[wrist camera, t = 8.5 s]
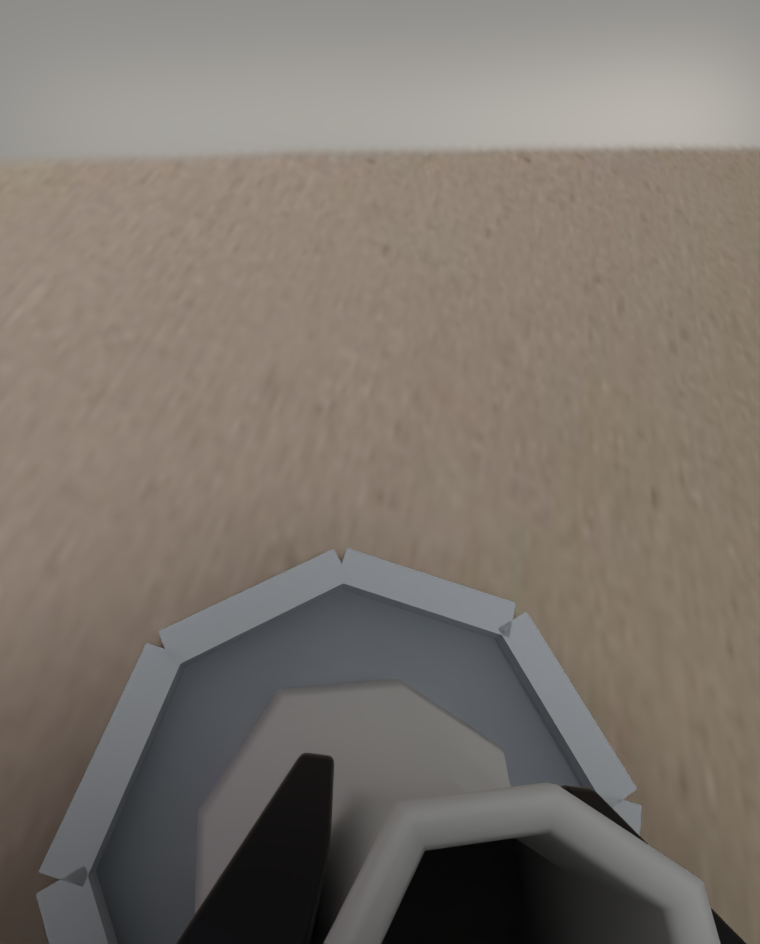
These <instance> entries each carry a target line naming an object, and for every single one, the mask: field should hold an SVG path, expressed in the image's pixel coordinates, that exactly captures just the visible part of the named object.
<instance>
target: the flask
mask: <svg viewBox="0 0 760 944" xmlns="http://www.w3.org/2000/svg"><path fill="white" fill-rule="evenodd" d="M303 753H314V754H322V755H329V756H331V757H332V758H333V759H334V784H333V806H332V829H331V842H330V851H329V857H328V862H327V868H326V873H325V878H324V883H323V888H322V893H321V898H320V904H319V909H318V914H317V919H316V924H315V929H314V934H313V940H312V944H720V940H719V936H718V933H717V929H716V926H715V922H714V918H713V915H712V911H711V908H710V904H709V900H708V897H707V893H706V890H705V886H704V883H703V880H701V879H700V878H698V877H696V876H695V875H693V874H692V873H690V872H689V871H687V870H686V869H684V868H683V867H681V866H680V865H678V864H677V863H675V862H674V861H672V860H671V859H669V858H668V857H666V856H665V855H663V854H662V853H660V852H659V851H657V850H656V849H654V848H653V847H651V846H649V845H648V844H646V843H645V842H643V841H642V840H640V839H639V838H637V837H636V836H634V835H633V834H631V833H630V832H628V831H627V830H625V829H624V828H622V827H621V826H619V825H618V824H616V823H615V822H613V821H612V820H610V819H609V818H607V817H606V816H604V815H602V814H601V813H599V812H598V811H596V810H595V809H593V808H592V807H590V806H589V805H587V804H586V803H584V802H583V801H581V800H580V799H578V798H577V797H575V796H574V795H572V794H571V793H569V792H568V791H566V790H565V789H563V788H562V787H560V786H559V785H556V784H552V783H547V782H545V783H537V784H529V785H521V786H513V787H511V785H510V783H509V777H508V772H507V766H506V761H505V755H504V752H503V749H502V747H501V746H500V745H498V744H497V743H495V742H494V741H492V740H491V739H489V738H487V737H486V736H484V735H483V734H481V733H480V732H478V731H477V730H475V729H474V728H472V727H471V726H469V725H468V724H466V723H465V722H463V721H462V720H460V719H459V718H457V717H456V716H454V715H453V714H451V713H450V712H448V711H447V710H445V709H443V708H442V707H440V706H439V705H437V704H436V703H434V702H433V701H431V700H430V699H428V698H427V697H425V696H424V695H422V694H421V693H419V692H418V691H416V690H415V689H413V688H412V687H410V686H409V685H407V684H406V683H404V682H403V681H401V680H399V679H389V680H378V681H366V682H355V683H343V684H332V685H321V686H309V687H298V688H287V689H278V690H277V691H276V693H275V694H274V696H273V697H272V699H271V700H270V702H269V703H268V705H267V706H266V708H265V709H264V711H263V713H262V714H261V716H260V717H259V719H258V720H257V722H256V723H255V725H254V726H253V728H252V729H251V731H250V732H249V734H248V735H247V737H246V738H245V740H244V742H243V743H242V745H241V746H240V748H239V749H238V751H237V752H236V754H235V755H234V757H233V758H232V760H231V761H230V763H229V764H228V766H227V767H226V769H225V770H224V772H223V774H222V775H221V777H220V778H219V780H218V781H217V783H216V784H215V786H214V787H213V789H212V790H211V792H210V793H209V795H208V796H207V798H206V799H205V801H204V802H203V804H202V806H201V807H200V809H199V810H198V819H197V852H196V885H195V913H196V912H197V910H198V909H199V907H200V906H201V904H202V903H203V901H204V900H205V898H206V897H207V895H208V894H209V892H210V891H211V889H212V888H213V886H214V885H215V883H216V881H217V880H218V878H219V877H220V875H221V874H222V872H223V871H224V869H225V868H226V866H227V865H228V863H229V862H230V860H231V859H232V857H233V856H234V854H235V853H236V851H237V850H238V848H239V847H240V845H241V844H242V842H243V841H244V839H245V837H246V836H247V834H248V833H249V831H250V830H251V828H252V827H253V825H254V824H255V822H256V821H257V819H258V818H259V816H260V815H261V813H262V812H263V810H264V809H265V807H266V806H267V804H268V803H269V801H270V800H271V798H272V796H273V795H274V793H275V792H276V790H277V789H278V787H279V786H280V784H281V783H282V781H283V780H284V778H285V777H286V775H287V774H288V772H289V771H290V769H291V768H292V766H293V765H294V763H295V762H296V760H297V759H298V757H299V756H300V755H301V754H303Z"/></svg>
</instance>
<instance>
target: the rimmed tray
mask: <svg viewBox="0 0 760 944" xmlns="http://www.w3.org/2000/svg"><path fill="white" fill-rule="evenodd" d="M515 605H516V603H515V602H512V601H509V600H506V599H502V598H499V597H496V596H493V595H490V594H487V593H484V592H481V591H478V590H475V589H472V588H469V587H466V586H463V585H460V584H456V583H453V582H450V581H447V580H444V579H441V578H438V577H435V576H432V575H429V574H426V573H423V572H420V571H417V570H413V569H410V568H407V567H404V566H401V565H398V564H395V563H392V562H389V561H386V560H383V559H380V558H377V557H374V556H371V555H367V554H364V553H361V552H358V551H355V550H352V549H349V548H347V549H346V552H345V555H344V558H343V561H342V563H341V562H340V560H339V558H338V556H337V554H336V552H335V550H334V549H332V550H330V551H328V552H326V553H323V554H321V555H319V556H317V557H315V558H313V559H311V560H308V561H306V562H304V563H302V564H300V565H298V566H296V567H294V568H291V569H289V570H287V571H285V572H283V573H281V574H279V575H277V576H274V577H272V578H270V579H268V580H266V581H264V582H262V583H260V584H257V585H255V586H253V587H251V588H249V589H247V590H245V591H242V592H240V593H238V594H236V595H234V596H232V597H230V598H228V599H225V600H223V601H221V602H219V603H217V604H215V605H213V606H211V607H208V608H206V609H204V610H202V611H200V612H198V613H196V614H194V615H191V616H189V617H187V618H185V619H183V620H181V621H179V622H176V623H174V624H172V625H170V626H168V627H166V628H164V629H162V630H159V631H158V633H159V635H160V638H161V640H162V643H163V646H164V648H165V649H164V648H161V647H158V646H155V645H152V644H149V643H146V644H145V647H144V649H143V651H142V653H141V655H140V657H139V659H138V661H137V664H136V666H135V668H134V670H133V672H132V674H131V676H130V678H129V681H128V683H127V685H126V687H125V689H124V691H123V693H122V695H121V697H120V700H119V702H118V704H117V706H116V708H115V710H114V712H113V714H112V717H111V719H110V721H109V723H108V725H107V727H106V729H105V731H104V734H103V736H102V738H101V740H100V742H99V744H98V746H97V748H96V751H95V753H94V755H93V757H92V759H91V761H90V763H89V765H88V768H87V770H86V772H85V774H84V776H83V778H82V780H81V782H80V784H79V787H78V789H77V791H76V793H75V795H74V797H73V799H72V801H71V804H70V806H69V808H68V810H67V812H66V814H65V816H64V818H63V821H62V823H61V825H60V827H59V829H58V831H57V833H56V835H55V838H54V840H53V842H52V844H51V846H50V848H49V850H48V852H47V855H46V857H45V859H44V861H43V863H42V865H41V867H40V869H39V871H38V872H39V873H42V874H45V875H48V876H51V877H54V878H57V879H60V880H58V881H57V882H55V883H53V884H51V885H50V886H48V887H46V888H44V889H43V890H41V891H39V892H37V893H36V897H37V901H38V904H39V908H40V912H41V916H42V919H43V923H44V927H45V931H46V934H47V938H48V942H49V944H176V942H177V941H178V939H179V938H180V936H181V935H182V933H183V932H184V930H185V929H186V927H187V925H188V924H189V922H190V921H191V919H192V918H193V916H194V915H195V885H196V852H197V819H198V810H199V809H200V807H201V806H202V804H203V802H204V801H205V799H206V798H207V796H208V795H209V793H210V792H211V790H212V789H213V787H214V786H215V784H216V783H217V781H218V780H219V778H220V777H221V775H222V774H223V772H224V770H225V769H226V767H227V766H228V764H229V763H230V761H231V760H232V758H233V757H234V755H235V754H236V752H237V751H238V749H239V748H240V746H241V745H242V743H243V742H244V740H245V738H246V737H247V735H248V734H249V732H250V731H251V729H252V728H253V726H254V725H255V723H256V722H257V720H258V719H259V717H260V716H261V714H262V713H263V711H264V709H265V708H266V706H267V705H268V703H269V702H270V700H271V699H272V697H273V696H274V694H275V693H276V691H277V690H278V689H287V688H298V687H309V686H321V685H332V684H343V683H355V682H366V681H378V680H389V679H399V680H401V681H403V682H404V683H406V684H407V685H409V686H410V687H412V688H413V689H415V690H416V691H418V692H419V693H421V694H422V695H424V696H425V697H427V698H428V699H430V700H431V701H433V702H434V703H436V704H437V705H439V706H440V707H442V708H443V709H445V710H447V711H448V712H450V713H451V714H453V715H454V716H456V717H457V718H459V719H460V720H462V721H463V722H465V723H466V724H468V725H469V726H471V727H472V728H474V729H475V730H477V731H478V732H480V733H481V734H483V735H484V736H486V737H487V738H489V739H491V740H492V741H494V742H495V743H497V744H498V745H500V746H501V747H502V749H503V752H504V755H505V761H506V766H507V772H508V777H509V783H510V785H511V787H513V786H521V785H529V784H537V783H545V782H547V783H552V784H556V785H559V786H560V787H561V786H563V785H570V786H578V787H586V788H590V789H593V790H594V791H595V792H597V793H598V794H599V795H600V796H601V797H602V798H603V799H604V800H605V801H606V802H607V803H608V804H609V805H610V806H611V807H612V808H613V809H614V810H615V811H616V812H617V813H618V814H619V815H620V816H621V817H622V818H623V819H624V820H625V821H626V822H627V823H628V824H629V825H630V826H631V827H632V828H633V829H634V830H635V832H636V833H637V834H638V835H639V836H640V825H641V810H642V806H641V805H638V804H635V803H632V802H629V801H626V800H623V799H624V798H626V797H627V796H628V795H630V794H631V793H632V792H634V791H635V790H636V789H637V787H636V786H635V784H634V783H633V781H632V779H631V778H630V776H629V775H628V773H627V771H626V770H625V768H624V767H623V765H622V763H621V762H620V760H619V759H618V757H617V755H616V754H615V752H614V751H613V749H612V747H611V746H610V744H609V742H608V741H607V739H606V738H605V736H604V734H603V733H602V731H601V730H600V728H599V726H598V725H597V723H596V722H595V720H594V718H593V717H592V715H591V714H590V712H589V710H588V709H587V707H586V706H585V704H584V702H583V701H582V699H581V698H580V696H579V694H578V693H577V691H576V690H575V688H574V686H573V685H572V683H571V682H570V680H569V678H568V677H567V675H566V674H565V672H564V670H563V669H562V667H561V666H560V664H559V662H558V661H557V659H556V658H555V656H554V654H553V653H552V651H551V650H550V648H549V646H548V645H547V643H546V642H545V640H544V638H543V637H542V635H541V634H540V632H539V630H538V629H537V627H536V626H535V624H534V622H533V621H532V619H531V618H530V616H529V614H528V613H527V612H525V613H523V614H522V615H520V616H518V617H516V618H515V619H513V616H514V610H515Z"/></svg>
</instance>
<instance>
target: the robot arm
mask: <svg viewBox="0 0 760 944" xmlns="http://www.w3.org/2000/svg"><path fill="white" fill-rule="evenodd" d="M333 784H334V759H333V758H332V757H331V756H329V755H322V754H314V753H303V754H301V755H300V756H299V757H298V759H297V760H296V762H295V763H294V765H293V766H292V768H291V769H290V771H289V772H288V774H287V775H286V777H285V778H284V780H283V781H282V783H281V784H280V786H279V787H278V789H277V790H276V792H275V793H274V795H273V796H272V798H271V800H270V801H269V803H268V804H267V806H266V807H265V809H264V810H263V812H262V813H261V815H260V816H259V818H258V819H257V821H256V822H255V824H254V825H253V827H252V828H251V830H250V831H249V833H248V834H247V836H246V837H245V839H244V841H243V842H242V844H241V845H240V847H239V848H238V850H237V851H236V853H235V854H234V856H233V857H232V859H231V860H230V862H229V863H228V865H227V866H226V868H225V869H224V871H223V872H222V874H221V875H220V877H219V878H218V880H217V881H216V883H215V885H214V886H213V888H212V889H211V891H210V892H209V894H208V895H207V897H206V898H205V900H204V901H203V903H202V904H201V906H200V907H199V909H198V910H197V912H196V913H195V915H194V916H193V918H192V919H191V921H190V922H189V924H188V925H187V927H186V929H185V930H184V932H183V933H182V935H181V936H180V938H179V939H178V941H177V942H176V944H312V940H313V934H314V929H315V924H316V919H317V914H318V909H319V904H320V898H321V893H322V888H323V883H324V878H325V873H326V868H327V862H328V857H329V851H330V842H331V829H332V806H333ZM561 787H562V788H563V789H565V790H566V791H568V792H569V793H571V794H572V795H574V796H575V797H577V798H578V799H580V800H581V801H583V802H584V803H586V804H587V805H589V806H590V807H592V808H593V809H595V810H596V811H598V812H599V813H601V814H602V815H604V816H606V817H607V818H609V819H610V820H612V821H613V822H615V823H616V824H618V825H619V826H621V827H622V828H624V829H625V830H627V831H628V832H630V833H631V834H633V835H634V836H636V837H637V838H639V839H640V840H642V841H643V842H645V841H644V840H643V839H642V838H641V837H640V836H639V835H638V834H637V833H636V832H635V830H634V829H633V828H632V827H631V826H630V825H629V824H628V823H627V822H626V821H625V820H624V819H623V818H622V817H621V816H620V815H619V814H618V813H617V812H616V811H615V810H614V809H613V808H612V807H611V806H610V805H609V804H608V803H607V802H606V801H605V800H604V799H603V798H602V797H601V796H600V795H599V794H598V793H597V792H595V791H594V790H593V789H590V788H586V787H578V786H570V785H563V786H561ZM645 843H646V842H645ZM646 844H647V843H646ZM710 908H711V907H710ZM711 911H712V915H713V918H714V922H715V926H716V929H717V933H718V936H719V940H720V944H746V943H745V942H744V941H743V940H742V939H741V938H740V937H739V936H738V935H737V934H736V933H735V932H734V931H733V930H732V929H731V928H730V927H729V926H728V925H727V924H726V923H725V922H724V921H723V920H722V919H721V918H720V917H719V916H718V915H717V913H716V912H715V911H714V910H713V909H712V908H711Z"/></svg>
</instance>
